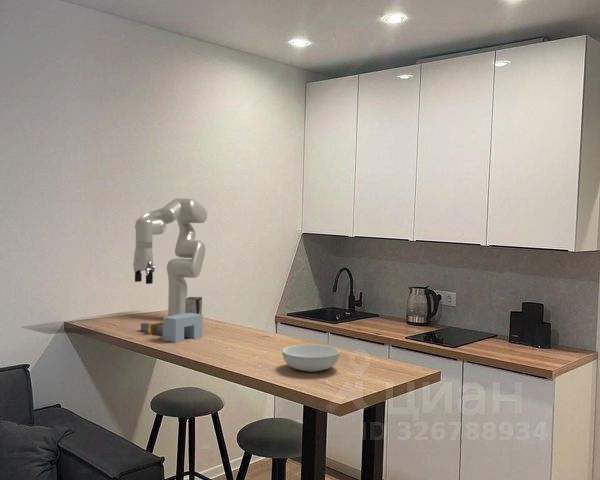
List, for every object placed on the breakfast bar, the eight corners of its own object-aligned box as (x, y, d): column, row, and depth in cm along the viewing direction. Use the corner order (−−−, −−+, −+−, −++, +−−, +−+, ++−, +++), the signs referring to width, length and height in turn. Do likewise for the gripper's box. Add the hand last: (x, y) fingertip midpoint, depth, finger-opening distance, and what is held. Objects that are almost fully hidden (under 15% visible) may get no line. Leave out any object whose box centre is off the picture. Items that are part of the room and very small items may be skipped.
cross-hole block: (162, 339, 255) (163, 317, 255) (189, 334, 268) (190, 312, 268) (175, 342, 251) (175, 319, 250) (202, 336, 264) (202, 314, 263)
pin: (136, 331, 272) (136, 321, 272) (150, 329, 278) (150, 319, 278) (172, 339, 258) (172, 328, 258) (185, 336, 264) (185, 326, 264)
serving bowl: (294, 359, 227) (294, 341, 227) (346, 365, 220) (346, 347, 219) (272, 372, 208) (272, 352, 208) (328, 379, 200) (329, 359, 200)
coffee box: (198, 334, 269) (198, 299, 268) (184, 334, 269) (184, 299, 268) (202, 330, 278) (202, 296, 277) (188, 330, 278) (189, 296, 277)
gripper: (127, 245, 275) (126, 281, 276) (146, 247, 263) (146, 285, 264) (141, 244, 280) (141, 280, 281) (161, 246, 268) (160, 284, 269)
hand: (143, 282), depth 272 cm, fingers open, 9 cm apart
